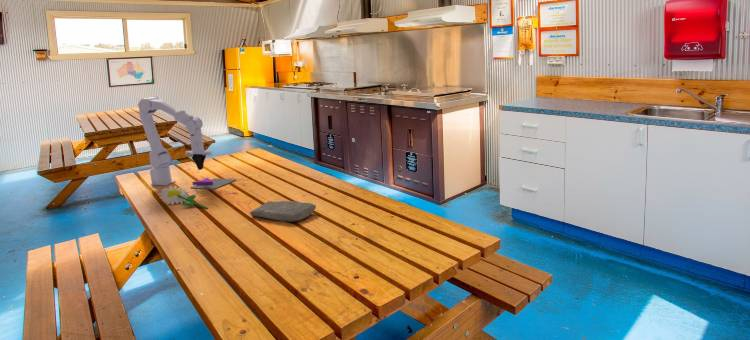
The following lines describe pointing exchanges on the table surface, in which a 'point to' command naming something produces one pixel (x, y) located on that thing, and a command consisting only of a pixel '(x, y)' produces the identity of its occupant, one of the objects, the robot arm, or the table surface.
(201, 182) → the arrowhead
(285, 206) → the stone
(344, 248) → the table surface
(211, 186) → the mat
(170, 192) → the decorative flower
